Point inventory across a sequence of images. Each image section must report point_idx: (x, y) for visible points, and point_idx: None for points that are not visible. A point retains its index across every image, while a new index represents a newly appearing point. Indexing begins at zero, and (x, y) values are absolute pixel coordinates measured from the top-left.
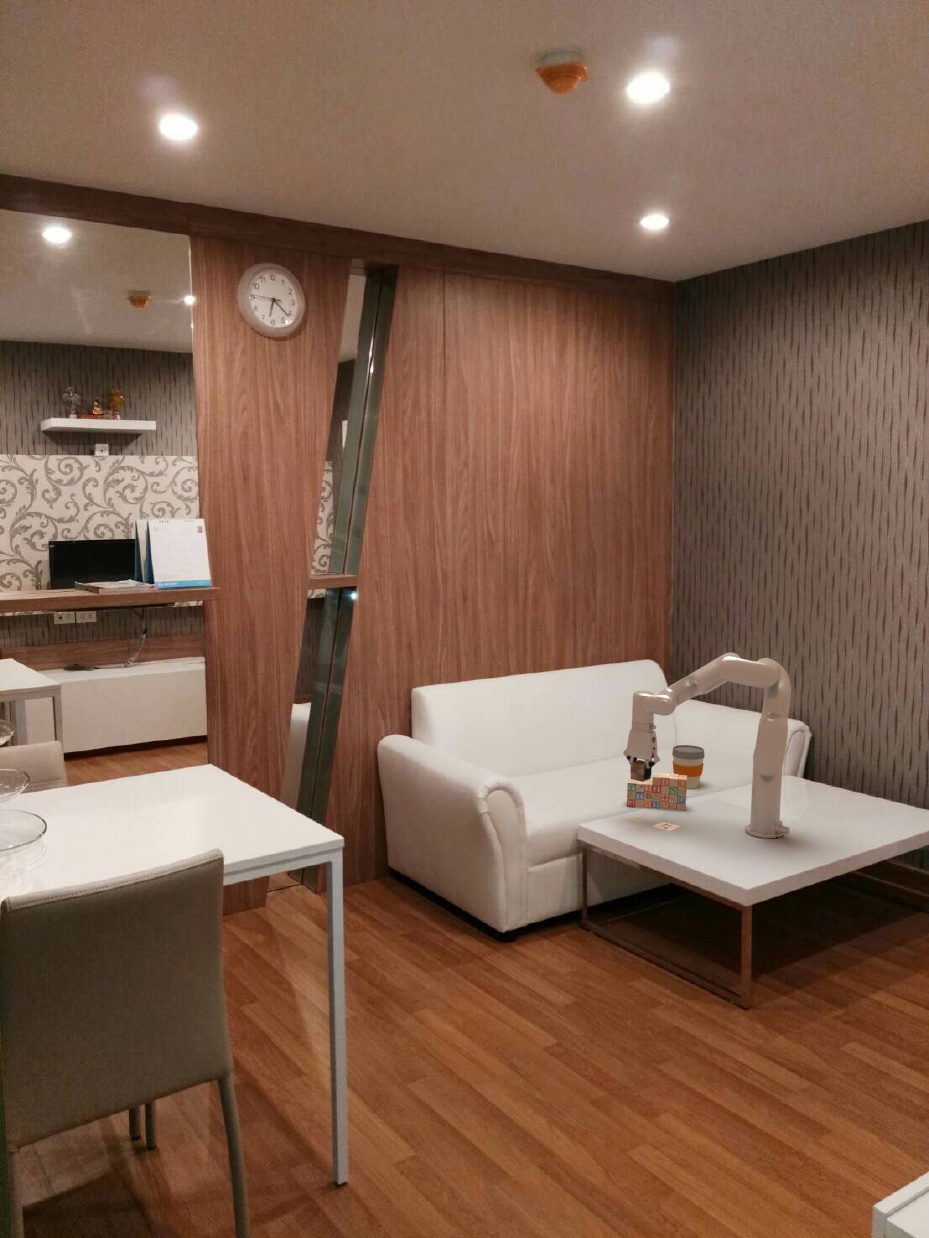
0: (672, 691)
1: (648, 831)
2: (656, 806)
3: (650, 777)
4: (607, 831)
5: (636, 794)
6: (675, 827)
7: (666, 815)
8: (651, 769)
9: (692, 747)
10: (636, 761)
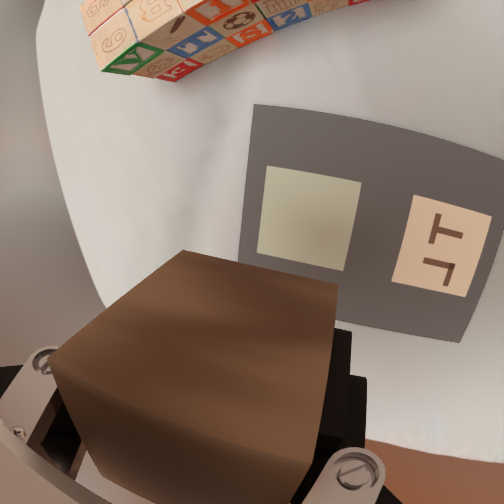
0: None
1: (393, 333)
2: (293, 17)
3: (349, 334)
4: None
5: (179, 50)
6: (478, 242)
7: (383, 81)
8: (364, 441)
9: None
10: (98, 444)
